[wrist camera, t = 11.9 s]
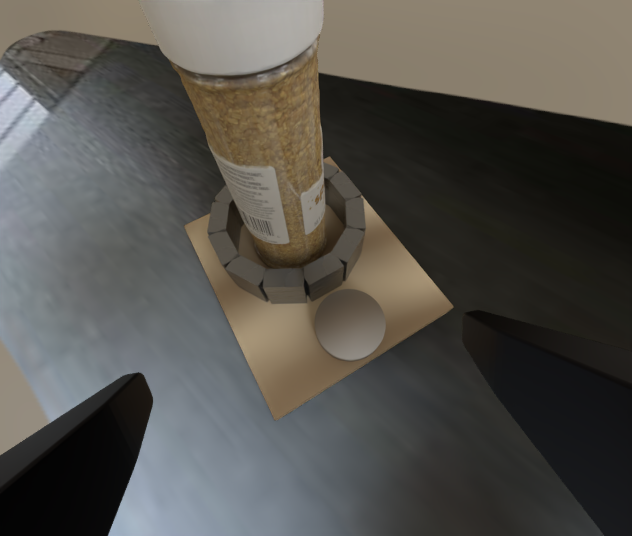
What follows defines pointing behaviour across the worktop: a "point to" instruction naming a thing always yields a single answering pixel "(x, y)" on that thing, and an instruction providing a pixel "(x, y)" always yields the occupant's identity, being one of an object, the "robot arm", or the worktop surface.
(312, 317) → the carrier plate
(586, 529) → the worktop surface
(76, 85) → the worktop surface
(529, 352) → the robot arm
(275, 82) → the sprinkles bottle
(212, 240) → the socket ring
